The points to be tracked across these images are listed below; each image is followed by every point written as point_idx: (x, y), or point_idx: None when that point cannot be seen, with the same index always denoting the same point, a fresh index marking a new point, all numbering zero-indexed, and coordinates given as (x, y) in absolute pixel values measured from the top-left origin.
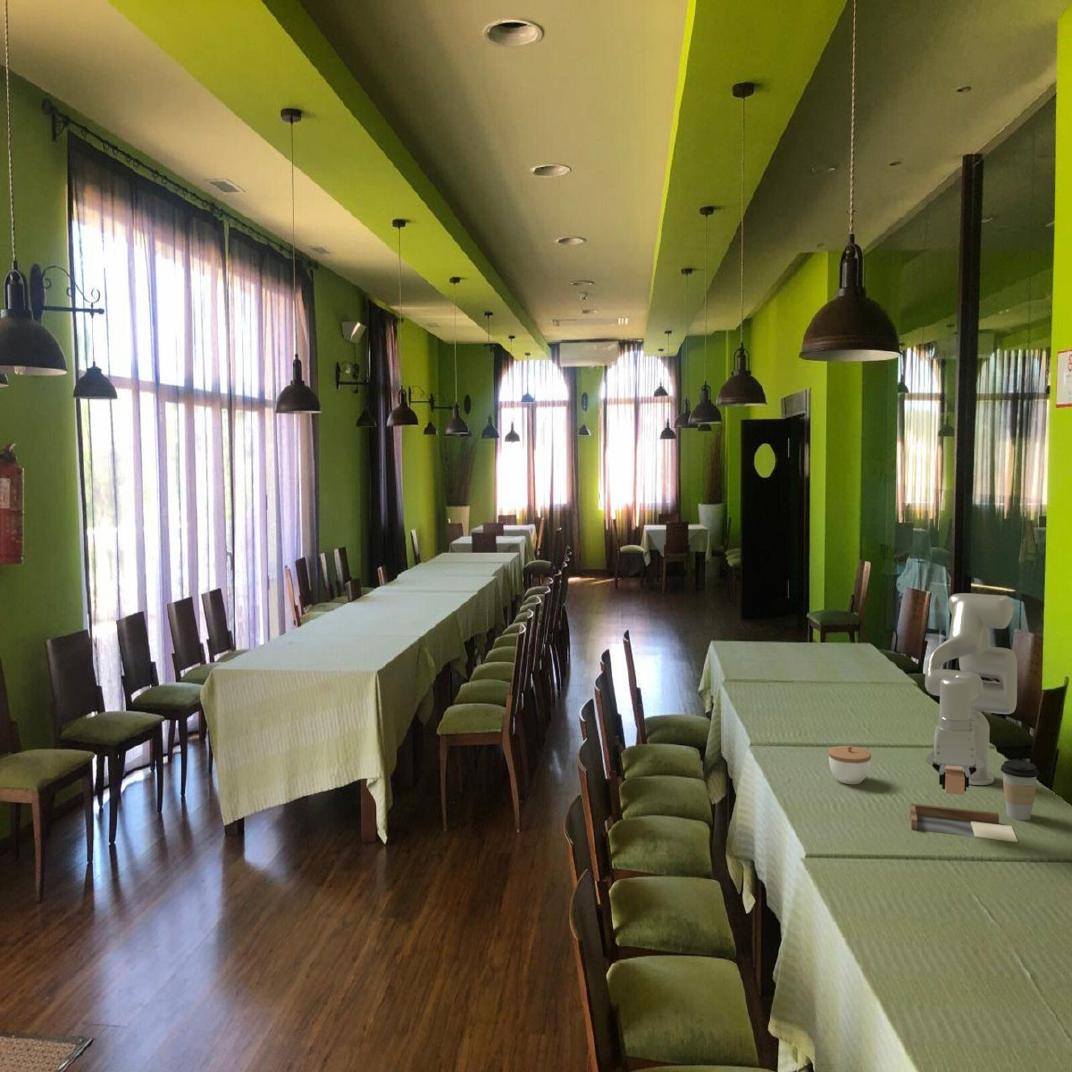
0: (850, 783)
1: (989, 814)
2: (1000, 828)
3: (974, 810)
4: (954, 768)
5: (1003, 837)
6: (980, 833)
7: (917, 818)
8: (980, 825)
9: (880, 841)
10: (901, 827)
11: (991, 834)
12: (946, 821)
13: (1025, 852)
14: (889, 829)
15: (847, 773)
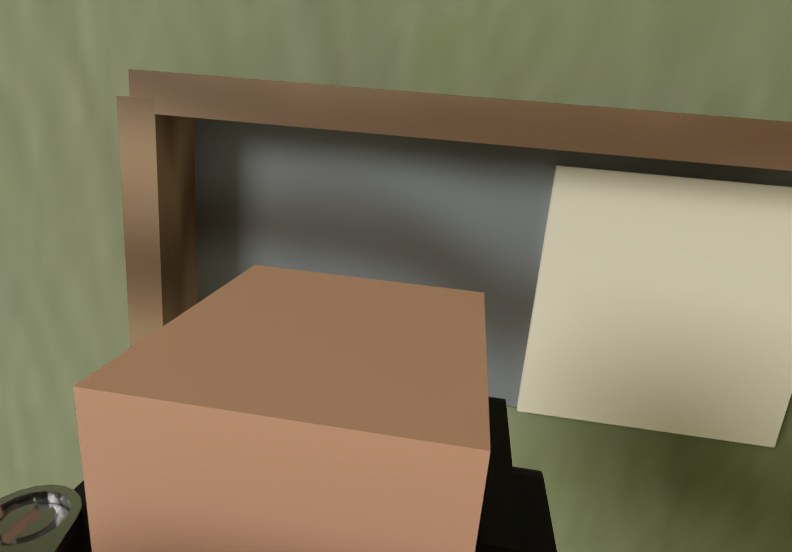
0: None
1: (725, 164)
2: (740, 262)
3: (616, 110)
4: (297, 516)
5: (699, 407)
6: (564, 369)
7: (207, 178)
8: (607, 233)
9: None
10: (121, 321)
11: (633, 375)
12: (387, 190)
13: (759, 548)
14: (63, 360)
15: None
